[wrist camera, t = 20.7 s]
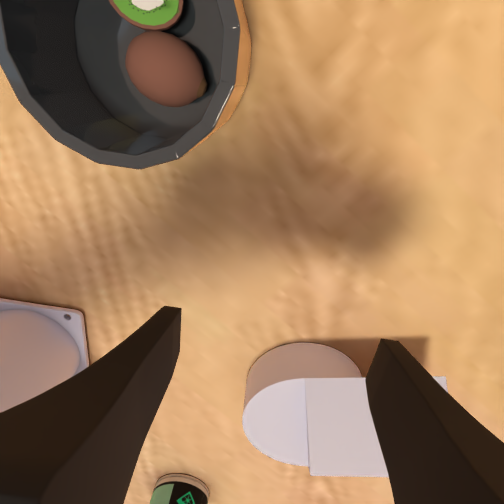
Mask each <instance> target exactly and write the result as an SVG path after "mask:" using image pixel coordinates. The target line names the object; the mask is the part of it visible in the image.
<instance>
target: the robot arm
mask: <svg viewBox="0 0 504 504" xmlns="http://www.w3.org/2000/svg"><path fill="white" fill-rule="evenodd" d="M67 314H68V315H70V316H68V315H67ZM180 331H181V308H176V307H170V306H164V307H162V308H161V309H160V310H159V311H158V312H157V313H156V314H154V315H153V316H152V317H151V318H150V319H149V320H148V321H147V322H146V323H144V324H143V325H142V326H141V327H140V328H139V329H138V330H136V331H135V332H134V333H133V334H132V335H130V336H129V337H128V338H127V339H126V340H124V341H123V342H122V343H120V344H119V345H118V346H116V347H115V348H114V349H112V350H111V351H110V352H108V353H107V354H106V355H104V356H103V357H102V358H100V359H99V360H97V361H96V362H95V363H93V364H92V365H90V366H89V358H88V350H87V342H86V333H85V325H84V316H83V314H82V313H81V312H80V311H79V310H75V309H68V308H62V307H55V306H48V305H42V304H35V303H29V302H22V301H16V300H9V299H2V298H0V504H123V503H124V500H125V497H126V494H127V490H128V487H129V484H130V481H131V478H132V475H133V472H134V469H135V466H136V463H137V460H138V457H139V454H140V451H141V448H142V446H143V443H144V441H145V438H146V435H147V433H148V431H149V429H150V426H151V424H152V422H153V420H154V417H155V415H156V413H157V410H158V408H159V406H160V404H161V401H162V399H163V397H164V394H165V392H166V390H167V387H168V385H169V383H170V380H171V378H172V375H173V372H174V369H175V366H176V362H177V359H178V355H179V352H180ZM365 382H366V390H367V397H368V403H369V408H370V412H371V416H372V419H373V423H374V427H375V430H376V434H377V437H378V440H379V444H380V447H381V451H382V454H383V458H384V461H385V465H386V468H387V472H388V475H389V479H390V483H391V487H392V492H393V497H394V503H395V504H504V443H503V442H502V441H501V440H499V439H498V438H497V437H496V436H495V435H493V434H492V433H491V432H490V431H489V430H487V429H486V428H485V427H484V426H483V425H482V424H480V423H479V422H478V421H477V420H476V419H475V418H474V417H473V416H472V415H470V414H469V413H468V412H467V411H466V410H465V409H464V408H463V407H462V406H461V405H460V404H459V403H458V402H457V401H456V400H455V399H454V398H453V397H452V396H451V395H450V394H449V393H448V392H447V391H446V390H445V389H444V388H443V387H442V386H441V385H440V384H439V383H438V382H437V381H436V380H435V379H434V378H433V377H432V376H431V375H430V374H429V373H428V372H427V371H426V370H425V369H424V368H423V366H422V365H421V364H420V363H419V362H418V361H417V360H416V359H415V358H414V357H413V356H412V355H411V354H410V353H409V352H408V351H407V349H406V348H405V347H404V346H403V345H402V344H401V343H400V342H399V341H394V340H387V339H381V340H380V343H379V345H378V348H377V351H376V353H375V356H374V358H373V361H372V364H371V366H370V369H369V371H368V374H367V377H366V379H365Z"/></svg>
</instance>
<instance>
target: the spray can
mask: <svg viewBox="0 0 504 504" xmlns="http://www.w3.org/2000/svg"><path fill="white" fill-rule="evenodd" d="M208 497H209V490H208V488H207V487H206V485H205V484H204V483H203V482H202V481H200V480H198V479H197V478H194V477H192V476H189V475H184V474H169V475H166V476H163V477H161V478H160V479H159V480H158V481H157V483H156V486H155V488H154V491H153V494H152V498H151V501H150V504H208V499H209V498H208Z"/></svg>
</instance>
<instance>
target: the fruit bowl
mask: <svg viewBox="0 0 504 504" xmlns="http://www.w3.org/2000/svg"><path fill="white" fill-rule="evenodd" d="M144 32H147V31H146V30H143V29H141V28H139V27H136V26H134V25H132V24H130V23H129V22H128V21H126V20H125V19H124V18H122V17H121V16H120V15H119V14H118V13H117V11H116V10H115V9H114V8H113V6H112V5H111V4H110V2H109V0H0V65H1V67H2V69H3V71H4V73H5V75H6V77H7V79H8V81H9V83H10V85H11V87H12V89H13V91H14V92H15V94H16V96H17V98H18V100H19V101H20V103H21V104H22V105H23V107H24V108H25V109H26V110H27V111H28V112H29V113H30V114H31V115H32V116H33V117H34V118H35V119H36V120H37V121H38V122H39V123H40V124H41V126H42V127H43V128H44V129H45V130H46V131H47V132H48V133H49V134H50V135H51V136H52V137H53V138H54V139H55V140H56V141H58V142H60V143H61V144H63V145H65V146H67V147H69V148H70V149H72V150H74V151H76V152H78V153H80V154H81V155H83V156H85V157H87V158H89V159H90V160H92V161H94V162H96V163H99V164H105V165H112V166H119V167H126V168H132V169H144V168H148V167H152V166H155V165H159V164H163V163H166V162H170V161H174V160H177V159H179V158H181V157H183V156H184V155H186V154H187V153H188V152H190V151H191V150H192V149H194V148H195V147H196V146H198V145H199V144H200V143H202V142H203V141H204V140H206V139H207V138H208V137H209V136H210V135H212V134H213V133H214V132H215V131H216V130H218V129H219V128H220V127H221V126H222V125H223V124H225V123H226V122H227V121H228V120H229V119H230V118H231V116H232V114H233V112H234V110H235V109H236V107H237V105H238V104H239V102H240V100H241V97H242V95H243V93H244V90H245V88H246V85H247V80H248V75H249V69H250V60H251V38H250V33H249V28H248V22H247V19H246V15H245V12H244V8H243V3H242V0H183V10H182V14H181V17H180V19H179V21H178V22H177V23H176V24H175V25H173V26H172V27H171V28H170V29H167V30H163V31H161V32H165V33H169V34H172V35H174V36H176V37H178V38H179V39H181V40H183V41H184V42H186V43H187V44H188V45H189V46H190V47H191V48H192V49H193V50H194V52H195V53H196V54H197V56H198V58H199V60H200V62H201V64H202V67H203V72H204V78H205V80H206V82H207V89H206V92H205V94H204V96H203V97H200V98H197V99H196V100H194V101H193V102H191V103H190V104H189V105H185V106H181V107H168V106H163V105H161V104H158V103H156V102H153V101H151V100H150V99H148V98H147V97H146V96H144V95H143V94H142V93H140V92H139V91H138V89H137V88H136V87H135V85H134V84H133V83H132V82H131V79H130V77H129V74H128V72H127V69H126V67H125V59H126V53H127V50H128V46H129V44H130V42H131V41H132V39H133V38H135V37H136V36H138V35H140V34H142V33H144Z"/></svg>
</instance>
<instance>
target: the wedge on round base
mask: <svg viewBox="0 0 504 504" xmlns="http://www.w3.org/2000/svg"><path fill="white" fill-rule="evenodd" d="M433 378H434V379H435V380H436V381H437V382H438V383H439V384H440V385H441V386H442V387H443V388H444V389H445V390H446V391H447V392H448V390H447V383H446V376H441V377H433ZM365 379H366V377H365V378H362V376H361V373H360V371H359V369H358V367H357V366H356V364H355V363H354V362H353V361H352V360H351V359H350V358H349V357H348V356H346V355H345V354H343V353H342V352H340V351H338V350H336V349H334V348H331V347H329V346H325V345H321V344H316V343H292V344H286V345H283V346H279V347H277V348H274V349H272V350H270V351H268V352H267V353H265V354H263V355H262V356H261V357H260V358H258V360H257V361H256V362H255V363H254V364H253V366H252V367H251V369H250V371H249V373H248V377H247V382H246V391H245V400H244V409H243V418H242V424H243V429H244V432H245V435H246V436H247V438H248V440H249V441H250V442H251V444H252V445H253V446H254V447H255V448H256V449H258V450H259V451H260V452H262V453H263V454H265V455H267V456H268V457H270V458H273V459H275V460H277V461H280V462H283V463H287V464H292V465H298V466H308V467H309V471H310V475H311V476H353V477H389V475H388V472H387V468H386V465H385V461H384V458H383V454H382V451H381V447H380V444H379V440H378V437H377V434H376V430H375V427H374V423H373V419H372V416H371V412H370V408H369V403H368V397H367V390H366V382H365Z"/></svg>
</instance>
